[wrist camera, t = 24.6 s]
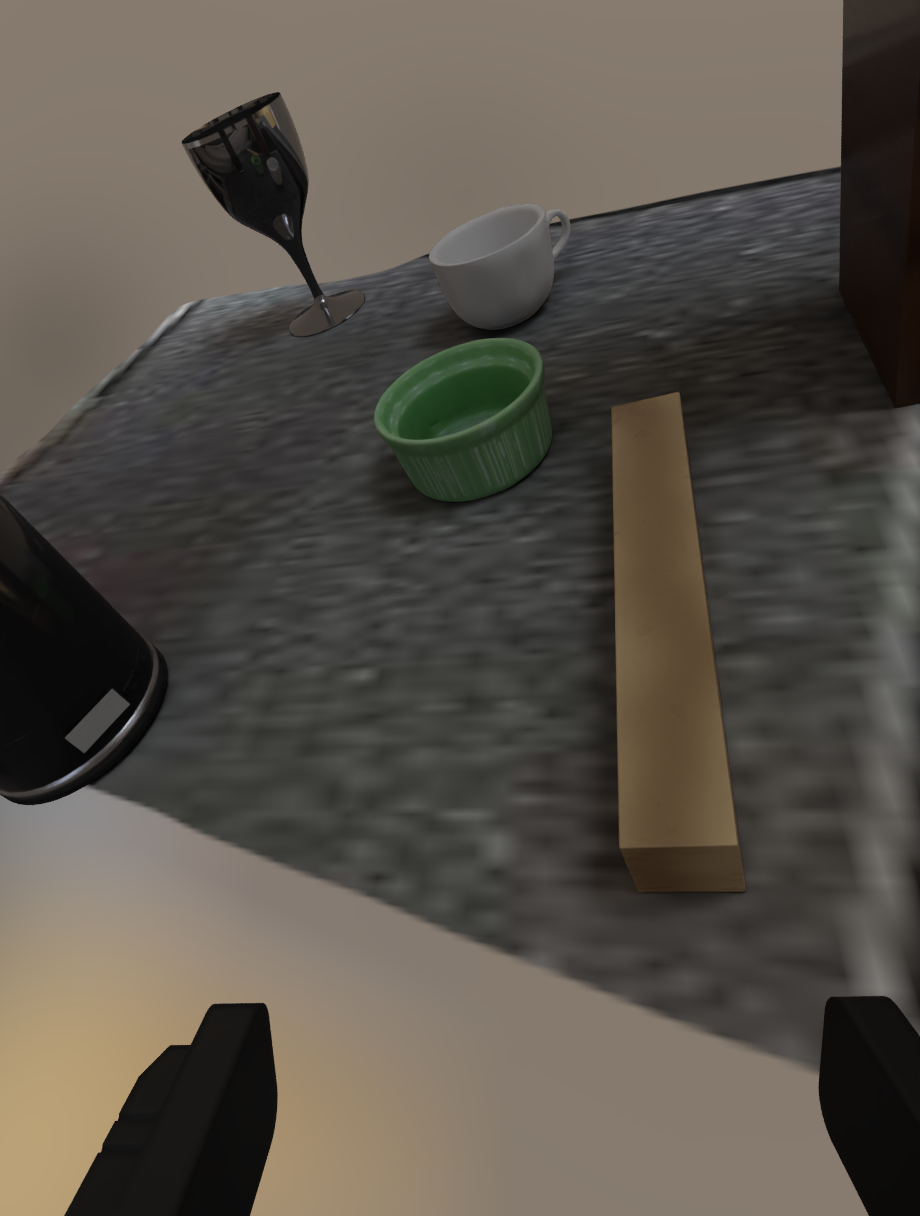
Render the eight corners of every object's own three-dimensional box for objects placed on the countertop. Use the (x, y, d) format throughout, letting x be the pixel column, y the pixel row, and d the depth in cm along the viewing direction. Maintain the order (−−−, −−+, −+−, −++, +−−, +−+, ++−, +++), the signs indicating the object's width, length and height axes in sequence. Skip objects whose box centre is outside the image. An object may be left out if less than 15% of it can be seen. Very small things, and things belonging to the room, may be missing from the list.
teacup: (493, 355, 47) (466, 274, 43) (437, 329, 52) (409, 255, 49) (614, 277, 48) (597, 192, 45) (547, 260, 54) (527, 183, 50)
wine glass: (320, 292, 67) (230, 107, 56) (386, 284, 62) (301, 82, 52) (267, 341, 63) (160, 152, 53) (334, 336, 58) (231, 129, 48)
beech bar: (637, 892, 21) (618, 848, 19) (623, 458, 35) (611, 406, 33) (746, 892, 20) (738, 845, 18) (687, 445, 34) (679, 391, 32)
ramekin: (541, 507, 35) (515, 431, 32) (382, 517, 39) (345, 451, 36) (579, 397, 40) (559, 324, 37) (435, 416, 44) (407, 351, 41)
